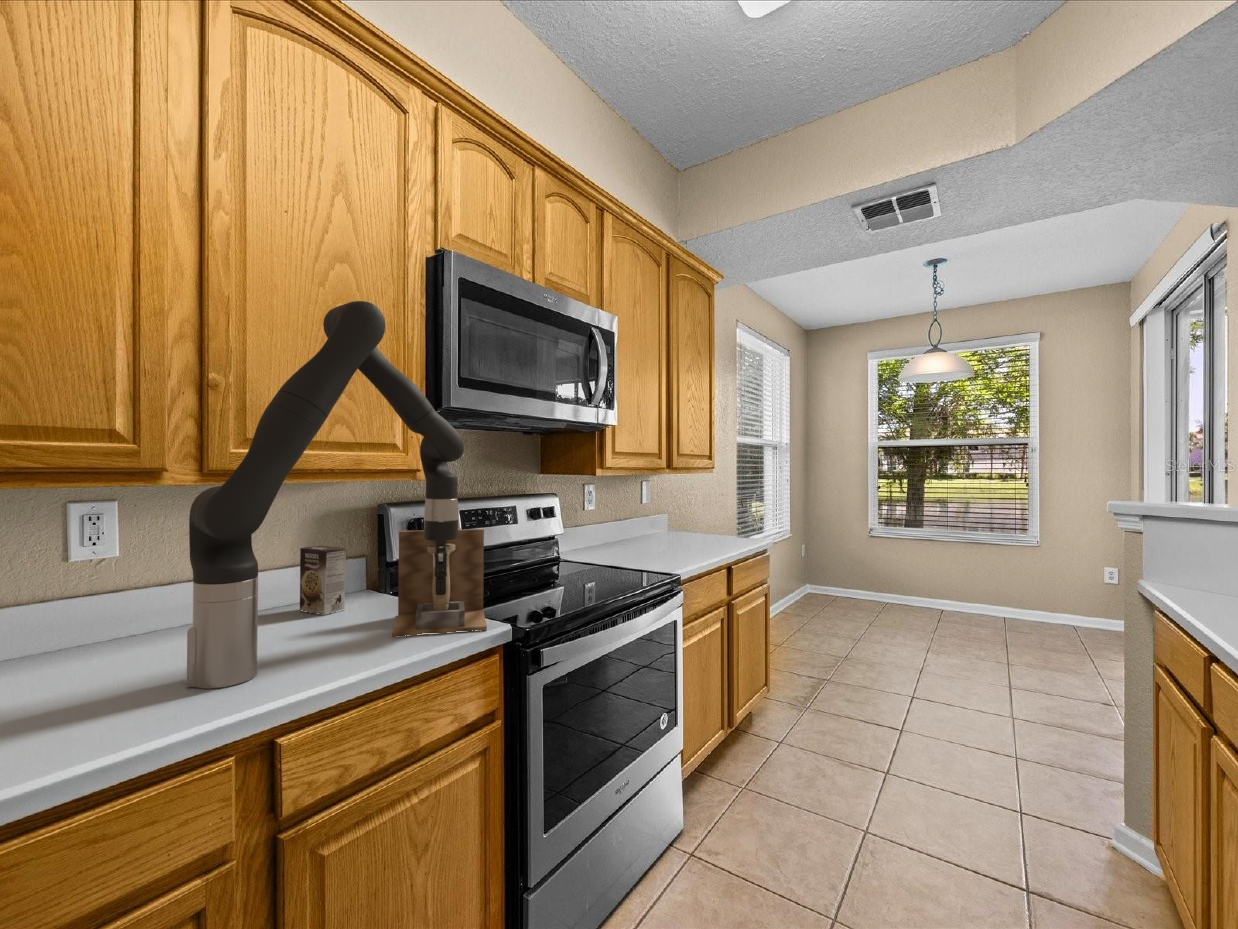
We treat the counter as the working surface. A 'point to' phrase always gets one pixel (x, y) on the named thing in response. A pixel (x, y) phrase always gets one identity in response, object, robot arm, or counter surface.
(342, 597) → the coffee box
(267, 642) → the counter surface
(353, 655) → the counter surface
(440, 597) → the handle
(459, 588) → the board
